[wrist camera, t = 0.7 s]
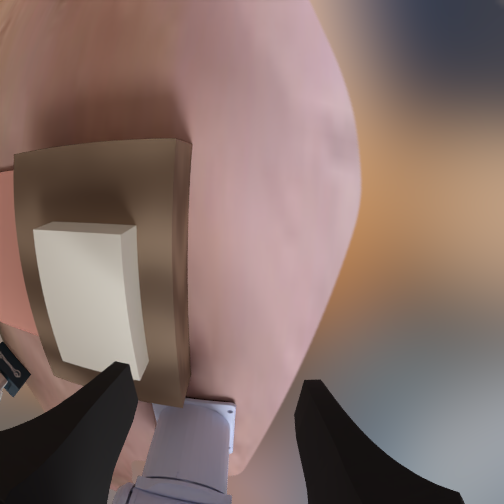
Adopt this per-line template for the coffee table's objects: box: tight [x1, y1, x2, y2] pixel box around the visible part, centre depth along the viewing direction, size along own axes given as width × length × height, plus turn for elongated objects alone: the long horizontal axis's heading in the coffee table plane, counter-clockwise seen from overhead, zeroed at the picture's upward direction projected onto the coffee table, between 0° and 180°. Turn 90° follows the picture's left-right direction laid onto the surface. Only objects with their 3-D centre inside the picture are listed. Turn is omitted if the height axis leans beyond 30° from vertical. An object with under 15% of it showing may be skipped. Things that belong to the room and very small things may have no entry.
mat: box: [0, 170, 39, 336], centre depth 18 cm, size 16×11×1 cm
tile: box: [33, 222, 149, 381], centre depth 14 cm, size 9×6×2 cm, turn 175°
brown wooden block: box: [13, 138, 192, 408], centre depth 17 cm, size 18×12×4 cm, turn 175°
